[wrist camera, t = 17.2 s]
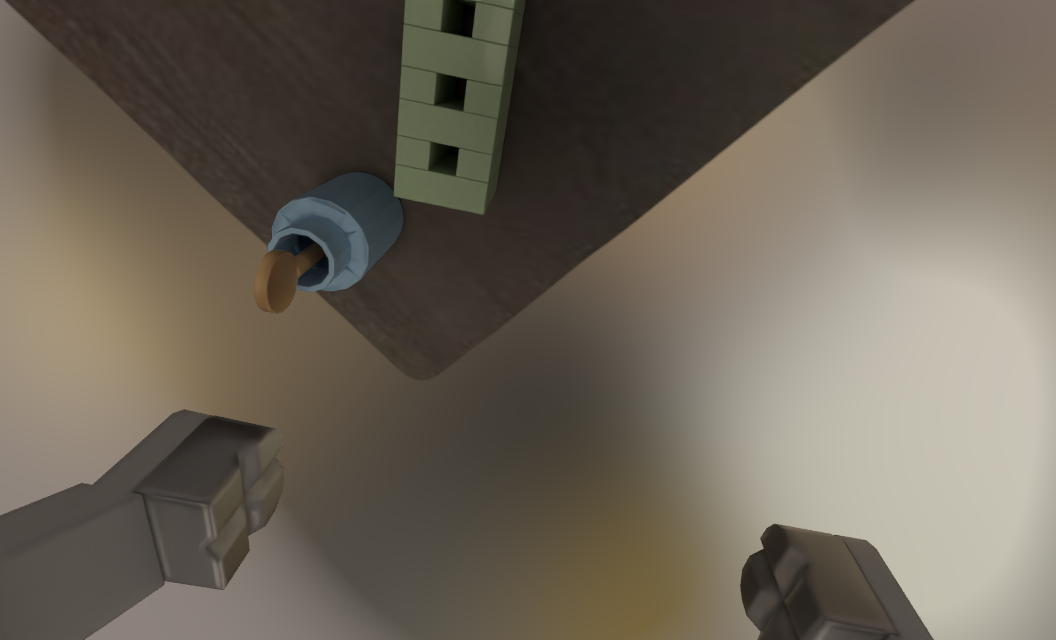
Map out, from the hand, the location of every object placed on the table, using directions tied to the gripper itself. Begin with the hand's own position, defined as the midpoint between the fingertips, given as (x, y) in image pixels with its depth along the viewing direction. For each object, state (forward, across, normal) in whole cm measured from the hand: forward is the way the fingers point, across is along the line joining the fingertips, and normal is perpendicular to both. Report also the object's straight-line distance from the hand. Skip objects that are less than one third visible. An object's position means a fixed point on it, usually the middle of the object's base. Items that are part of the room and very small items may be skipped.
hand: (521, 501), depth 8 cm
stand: (+37, +8, -3) cm, 38 cm away
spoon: (+37, +16, +9) cm, 41 cm away
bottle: (+37, +16, +9) cm, 41 cm away
